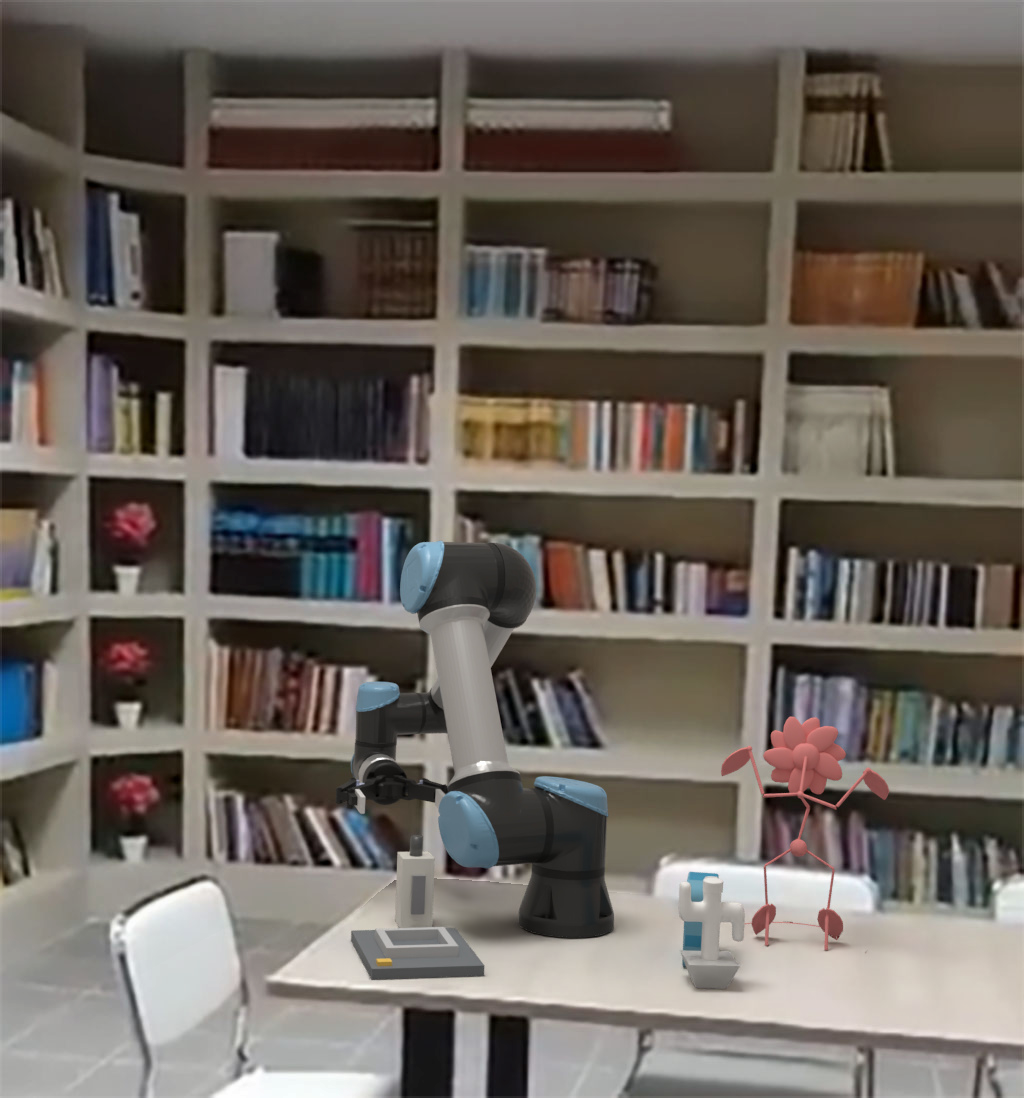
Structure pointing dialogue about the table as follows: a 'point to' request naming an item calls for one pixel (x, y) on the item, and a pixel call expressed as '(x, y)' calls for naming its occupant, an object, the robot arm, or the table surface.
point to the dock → (416, 953)
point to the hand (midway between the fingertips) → (404, 805)
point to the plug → (414, 886)
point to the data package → (694, 929)
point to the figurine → (711, 934)
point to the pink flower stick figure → (803, 764)
